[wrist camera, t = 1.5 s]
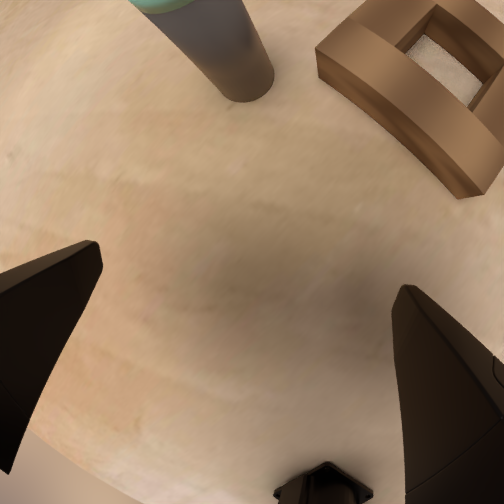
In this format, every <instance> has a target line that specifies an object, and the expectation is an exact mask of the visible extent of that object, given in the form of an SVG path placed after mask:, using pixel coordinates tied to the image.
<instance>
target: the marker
mask: <svg viewBox="0 0 504 504" xmlns="http://www.w3.org/2000/svg"><path fill="white" fill-rule="evenodd" d="M128 1H130V2H131V3H132V4H133V5H134V6H135V7H136V8H137V9H138V10H140V11H141V12H142V13H143V14H144V15H145V16H146V17H147V18H148V19H149V20H150V21H151V22H152V23H153V24H155V25H156V26H157V27H158V28H159V29H160V30H161V31H162V32H163V33H164V34H165V35H166V36H167V37H168V38H169V39H170V40H171V41H172V42H173V43H174V44H175V45H176V46H177V47H178V48H179V49H180V50H181V51H182V52H183V53H184V54H185V55H186V56H187V57H188V58H189V59H190V60H191V61H192V62H193V63H194V64H195V65H196V66H197V67H198V68H199V69H200V70H201V71H202V72H203V73H204V75H205V76H206V77H207V78H208V79H209V80H210V81H211V82H212V83H213V84H214V85H215V86H216V87H217V88H218V89H219V91H220V92H221V93H222V94H223V95H224V96H225V97H226V98H228V99H230V100H232V101H235V102H250V101H253V100H256V99H258V98H260V97H261V96H263V95H264V94H265V93H266V92H267V91H268V90H269V89H270V87H271V85H272V83H273V80H274V70H273V67H272V65H271V62H270V60H269V58H268V55H267V53H266V51H265V49H264V46H263V44H262V42H261V40H260V37H259V35H258V33H257V31H256V29H255V27H254V24H253V22H252V20H251V18H250V16H249V14H248V12H247V10H246V8H245V6H244V4H243V2H242V0H128Z"/></svg>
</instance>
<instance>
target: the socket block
mask: <svg viewBox="0 0 504 504" xmlns="http://www.w3.org/2000/svg"><path fill="white" fill-rule="evenodd" d="M423 34H426V35H427V36H428V37H430V38H431V39H432V40H434V41H435V42H436V43H438V44H439V45H440V46H441V47H443V48H444V49H445V50H446V51H448V52H449V53H450V54H451V55H452V56H454V57H455V58H456V59H457V60H458V61H459V62H461V63H462V64H463V65H464V66H465V67H466V68H467V69H468V70H470V71H471V72H472V73H473V74H474V75H475V76H476V77H477V78H478V79H479V80H480V81H481V82H482V83H483V86H482V87H481V88H480V90H479V91H478V93H477V94H476V96H475V97H474V98H473V100H472V101H471V103H470V104H469V105H468V107H466V106H465V105H464V104H463V103H462V102H461V101H459V100H458V99H457V98H456V97H455V96H454V95H453V94H452V93H451V92H450V91H449V90H448V89H446V88H445V87H444V86H443V85H442V84H441V83H440V82H439V81H437V80H436V79H435V78H434V77H433V76H431V75H430V74H429V73H428V72H427V71H425V70H424V69H423V68H422V67H420V66H419V65H418V64H417V63H415V62H414V61H413V60H412V59H410V58H409V57H408V56H406V55H405V53H406V52H407V51H408V50H409V49H410V48H411V47H412V46H413V45H414V44H415V43H416V41H417V40H418V39H419V38H420V37H421V36H422V35H423ZM315 53H316V60H317V68H318V76H319V78H320V79H322V80H323V81H325V82H326V83H327V84H329V85H330V86H332V87H333V88H334V89H336V90H337V91H338V92H340V93H341V94H342V95H344V96H345V97H346V98H348V99H349V100H350V101H352V102H353V103H354V104H356V105H357V106H358V107H359V108H361V109H362V110H363V111H364V112H366V113H367V114H368V115H369V116H371V117H372V118H373V119H374V120H375V121H377V122H378V123H379V124H380V125H381V126H383V127H384V128H385V129H386V130H387V131H388V132H390V133H391V134H392V135H393V136H394V137H395V138H396V139H398V140H399V141H400V142H401V143H402V144H403V145H404V146H405V147H406V148H407V149H408V150H410V151H411V152H412V153H413V154H414V155H415V156H416V157H417V158H418V159H419V160H420V161H421V162H422V163H423V164H424V165H425V166H426V167H427V168H428V169H429V170H430V171H431V172H432V173H433V174H434V175H435V176H436V177H437V178H438V179H439V180H440V181H441V182H442V183H443V184H444V185H445V186H446V187H447V188H448V190H449V191H450V192H451V193H452V194H453V195H454V196H455V197H456V198H457V199H463V198H468V197H474V196H480V195H484V194H485V193H486V191H487V190H488V189H489V187H490V186H491V184H492V183H493V181H494V180H495V178H496V177H497V175H498V174H499V172H500V170H501V169H502V167H503V166H504V24H503V23H502V22H500V21H499V20H498V19H497V18H496V17H495V16H494V15H492V14H491V13H490V12H489V11H488V10H486V9H485V8H484V7H483V6H481V5H480V4H479V3H478V2H476V1H475V0H366V1H365V2H364V3H363V4H362V5H361V6H359V7H358V8H357V9H356V10H355V11H354V12H353V13H352V14H350V15H349V16H348V17H347V18H346V19H345V20H344V21H343V22H342V23H341V24H339V25H338V26H337V27H336V28H335V29H334V30H333V31H332V32H331V33H330V34H329V35H328V36H327V37H326V38H325V39H324V40H322V41H321V42H320V43H319V44H318V45H317V46H316V47H315Z"/></svg>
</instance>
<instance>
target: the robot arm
mask: <svg viewBox="0 0 504 504" xmlns="http://www.w3.org/2000/svg"><path fill="white" fill-rule="evenodd" d="M102 270H103V262H102V257H101V252H100V247H99V244H98V243H97V242H96V241H90V240H85V241H82V242H79V243H76V244H74V245H71V246H68V247H66V248H63V249H60V250H58V251H55V252H53V253H50V254H47V255H45V256H42V257H40V258H37V259H35V260H32V261H30V262H27V263H25V264H22V265H20V266H17V267H15V268H12V269H10V270H8V271H5V272H3V273H1V274H0V469H1V470H2V471H3V472H5V473H6V474H8V475H9V473H10V471H11V469H12V466H13V463H14V460H15V457H16V454H17V452H18V449H19V446H20V444H21V441H22V438H23V436H24V433H25V431H26V428H27V426H28V423H29V421H30V418H31V416H32V414H33V411H34V409H35V407H36V404H37V402H38V400H39V398H40V395H41V393H42V391H43V389H44V387H45V385H46V382H47V380H48V378H49V376H50V374H51V372H52V370H53V368H54V366H55V364H56V362H57V360H58V358H59V356H60V354H61V352H62V350H63V348H64V346H65V344H66V343H67V341H68V339H69V337H70V335H71V333H72V331H73V330H74V328H75V326H76V324H77V322H78V320H79V319H80V317H81V315H82V313H83V311H84V309H85V307H86V305H87V303H88V301H89V299H90V296H91V294H92V292H93V290H94V288H95V286H96V283H97V281H98V279H99V277H100V275H101V273H102ZM391 315H392V330H393V349H394V362H395V370H396V377H397V384H398V392H399V401H400V410H401V420H402V431H403V445H404V462H405V493H406V495H405V504H504V364H503V363H502V362H501V361H500V360H499V359H498V358H497V357H496V356H493V354H492V353H491V352H490V351H489V350H488V349H487V348H486V347H485V346H484V345H483V344H482V343H481V342H480V341H479V340H477V339H476V338H475V337H474V336H473V335H472V334H471V333H470V332H469V331H468V330H467V329H465V328H464V327H463V326H462V325H461V324H460V323H459V322H458V321H456V320H455V319H454V318H453V317H452V316H451V315H450V314H448V313H447V312H446V311H445V310H444V309H443V308H442V307H440V306H439V305H438V304H437V303H436V302H435V301H433V300H432V299H431V298H430V297H429V296H428V295H426V294H425V293H424V292H423V291H422V290H420V289H419V288H418V287H417V286H415V285H407V284H404V285H402V286H401V288H400V290H399V292H398V295H397V297H396V300H395V302H394V304H393V307H392V313H391ZM326 468H328V469H326ZM273 496H274V497H275V498H276V499H278V500H279V502H278V504H362V503H364V502H366V501H368V500H370V499H371V498H373V491H372V490H370V489H368V488H367V487H365V486H364V485H362V484H361V483H359V482H358V481H356V480H355V479H353V478H352V477H350V476H349V475H347V474H346V473H344V472H343V471H341V470H340V469H339V468H337V467H336V466H334V465H333V464H331V463H323V464H322V465H320V466H318V467H317V468H315V469H313V470H312V471H310V472H308V473H306V474H303V475H302V476H300V477H298V478H296V479H294V480H292V481H291V482H289V483H287V484H285V485H283V486H282V487H281V488H279V489H277V490H275V491H274V494H273Z"/></svg>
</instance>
